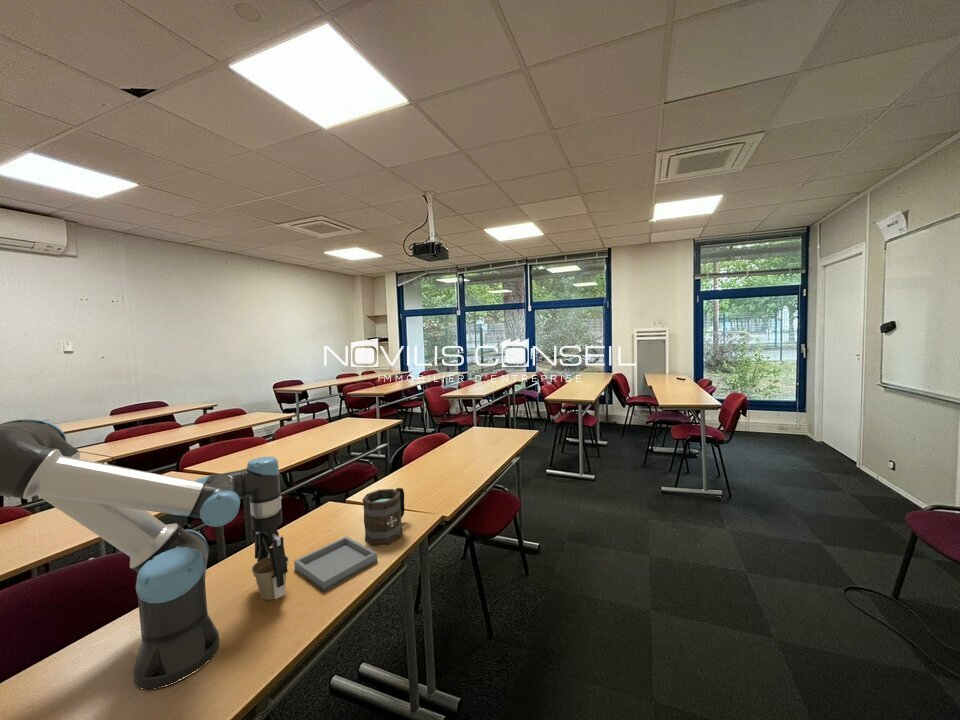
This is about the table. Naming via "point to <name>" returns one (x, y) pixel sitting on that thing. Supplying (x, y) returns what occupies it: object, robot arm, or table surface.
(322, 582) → the tray
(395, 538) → the mug
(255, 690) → the table surface
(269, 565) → the flower pot
